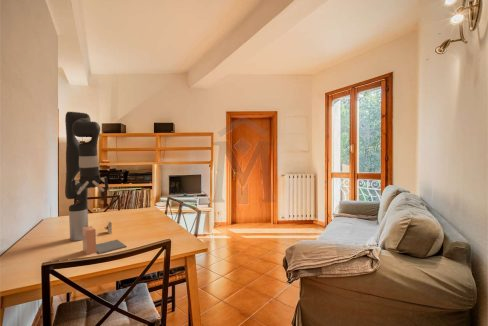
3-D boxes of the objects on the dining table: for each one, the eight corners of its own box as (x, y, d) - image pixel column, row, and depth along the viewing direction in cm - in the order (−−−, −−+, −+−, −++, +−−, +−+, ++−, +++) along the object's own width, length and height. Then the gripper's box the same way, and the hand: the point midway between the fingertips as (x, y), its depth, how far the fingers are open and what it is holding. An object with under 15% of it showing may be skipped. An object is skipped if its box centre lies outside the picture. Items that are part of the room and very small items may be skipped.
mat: (91, 246, 132) (91, 245, 132) (117, 240, 142) (117, 239, 142) (99, 254, 122) (99, 253, 122) (126, 246, 131) (126, 246, 131)
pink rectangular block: (83, 250, 127) (82, 227, 126) (92, 248, 130) (91, 226, 129) (87, 254, 121) (86, 230, 121) (96, 252, 124) (95, 229, 124)
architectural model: (105, 235, 153) (105, 223, 153) (104, 232, 158) (103, 221, 158) (111, 234, 155) (111, 222, 155) (110, 231, 160) (109, 220, 160)
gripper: (105, 163, 118) (107, 196, 120) (69, 166, 110) (72, 201, 112) (107, 165, 112) (110, 200, 114) (69, 167, 104) (72, 205, 106)
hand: (91, 200), depth 113 cm, fingers open, 8 cm apart
